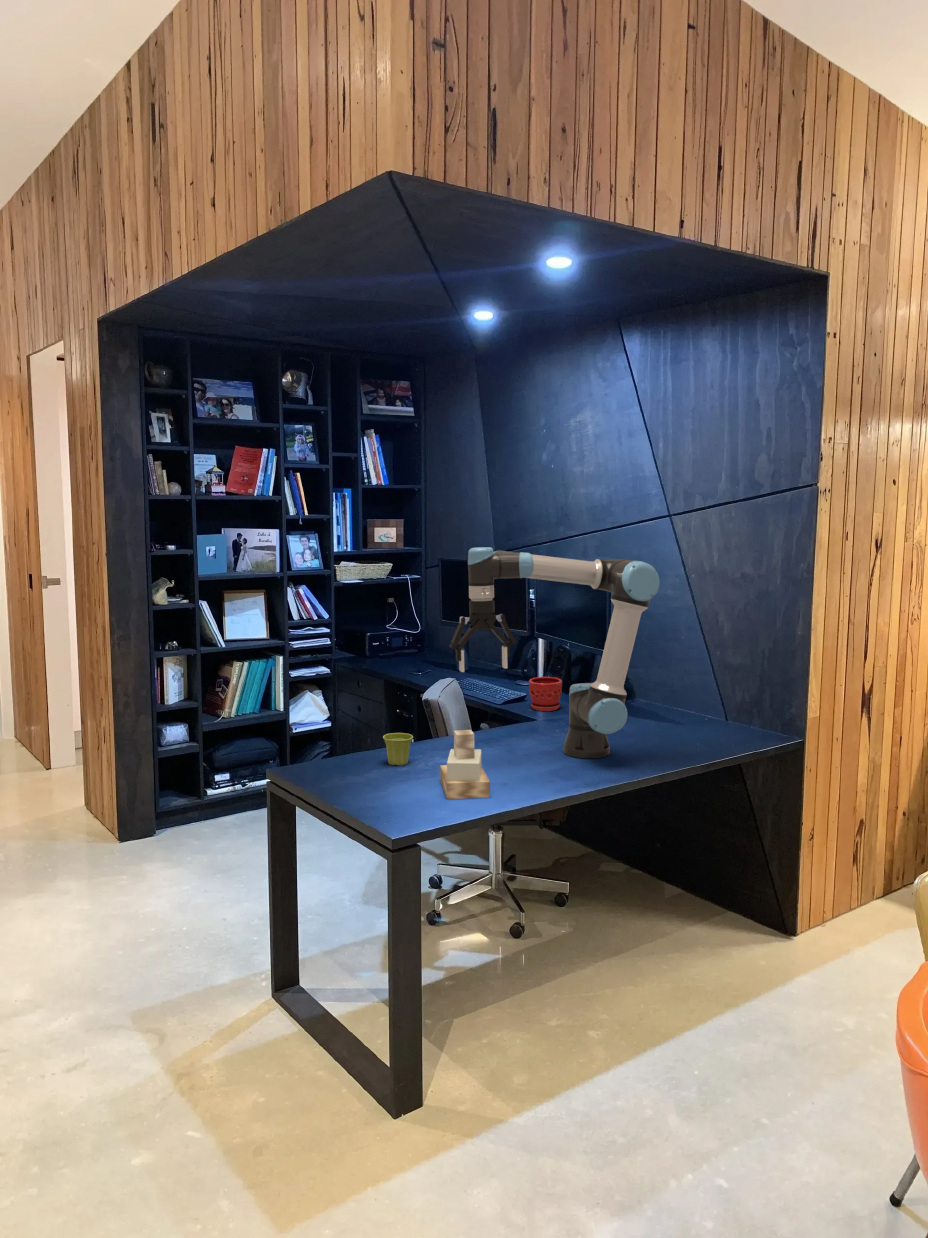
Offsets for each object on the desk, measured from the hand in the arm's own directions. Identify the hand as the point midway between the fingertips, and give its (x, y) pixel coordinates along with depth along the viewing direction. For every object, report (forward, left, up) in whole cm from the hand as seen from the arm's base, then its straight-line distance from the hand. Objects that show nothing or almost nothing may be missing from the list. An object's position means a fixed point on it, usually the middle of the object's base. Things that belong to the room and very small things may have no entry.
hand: (483, 669), depth 275 cm
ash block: (+10, +14, -22) cm, 28 cm away
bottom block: (+10, +14, -32) cm, 37 cm away
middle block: (+10, +14, -27) cm, 32 cm away
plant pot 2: (-48, -77, -32) cm, 96 cm away
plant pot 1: (+23, -16, -32) cm, 43 cm away
